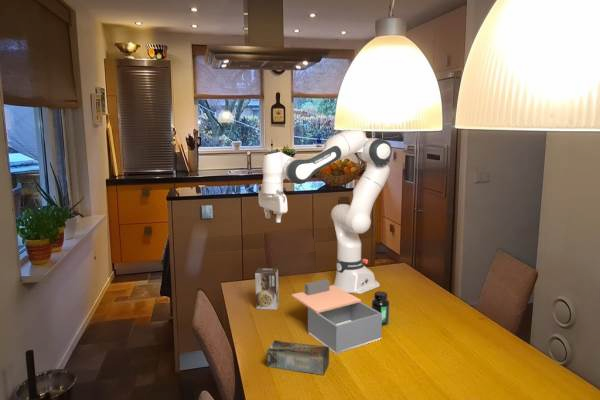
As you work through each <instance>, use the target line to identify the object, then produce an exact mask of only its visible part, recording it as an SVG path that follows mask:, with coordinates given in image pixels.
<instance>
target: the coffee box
mask: <svg viewBox="0 0 600 400" xmlns="http://www.w3.org/2000/svg"><path fill="white" fill-rule="evenodd" d="M254 278H255V279H254V281H255V310H271V311H274V310H278V308H279V305H280V303H279V302H280V301H279V300H280V298H279V297H280V295H279V268H277V267H274V268H273V267H272V268H271V267H270V268H269V267H258V268H257V269H256V271H255V272H254Z"/></svg>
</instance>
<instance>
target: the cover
mask: <svg viewBox="0 0 600 400" xmlns="http://www.w3.org/2000/svg"><path fill="white" fill-rule="evenodd" d="M291 298H293V299H295V300H296V301H298V302H299V303H301V304H302V305H303V306H305V307H307V309H308V308H310V309H311V310H313V311H314V312H316V313H320V312H324V311H328V310H332V309H335V308H339V307H343V306H347V305H351V304H355V303H358V302H362V299H360V298H359V297H357V296H354V295H353V294H352V293H347V292H345V291H344V290H342V289H340V288H338V287H336V286H334V284H332V285H330V280H328V279H322V280H317V281H312V282H307V283H304V291H301V292H296V293H293V294H292V293H291Z"/></svg>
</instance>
